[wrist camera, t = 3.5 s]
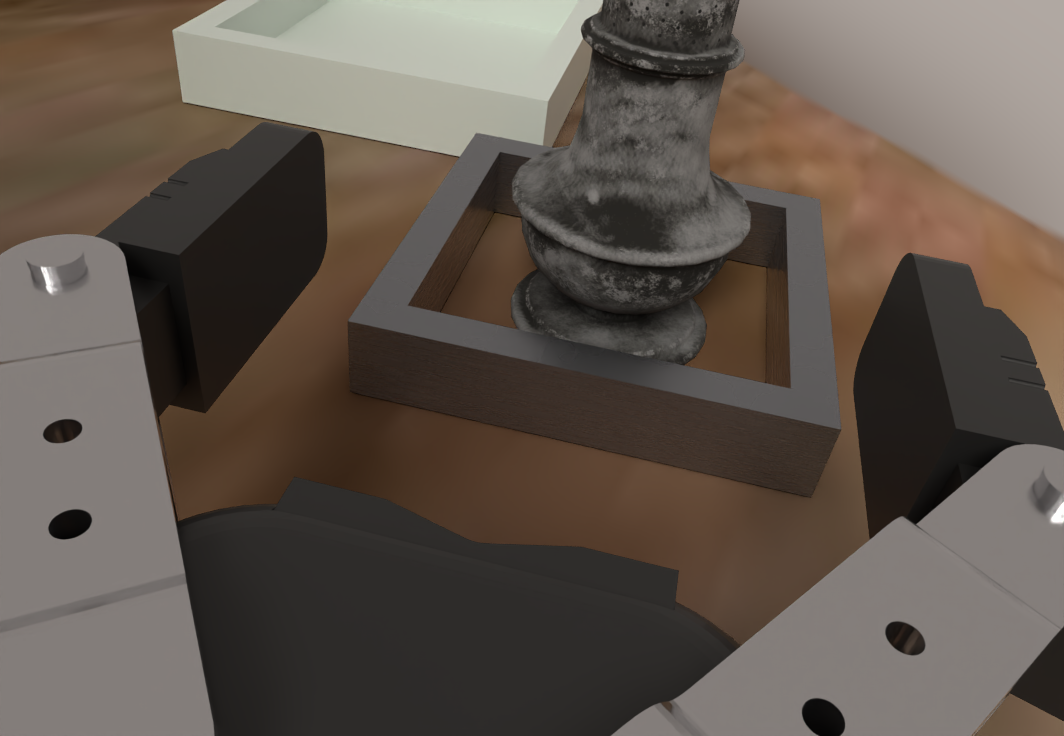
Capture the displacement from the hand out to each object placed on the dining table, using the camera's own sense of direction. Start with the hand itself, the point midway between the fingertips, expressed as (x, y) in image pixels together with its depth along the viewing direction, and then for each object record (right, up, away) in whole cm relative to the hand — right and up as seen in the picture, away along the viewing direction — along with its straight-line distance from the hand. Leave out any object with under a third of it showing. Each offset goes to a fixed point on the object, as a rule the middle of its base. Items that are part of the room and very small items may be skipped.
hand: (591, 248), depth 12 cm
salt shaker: (+1, 0, +12) cm, 12 cm away
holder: (+1, 0, +11) cm, 12 cm away
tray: (-6, +10, +23) cm, 26 cm away
